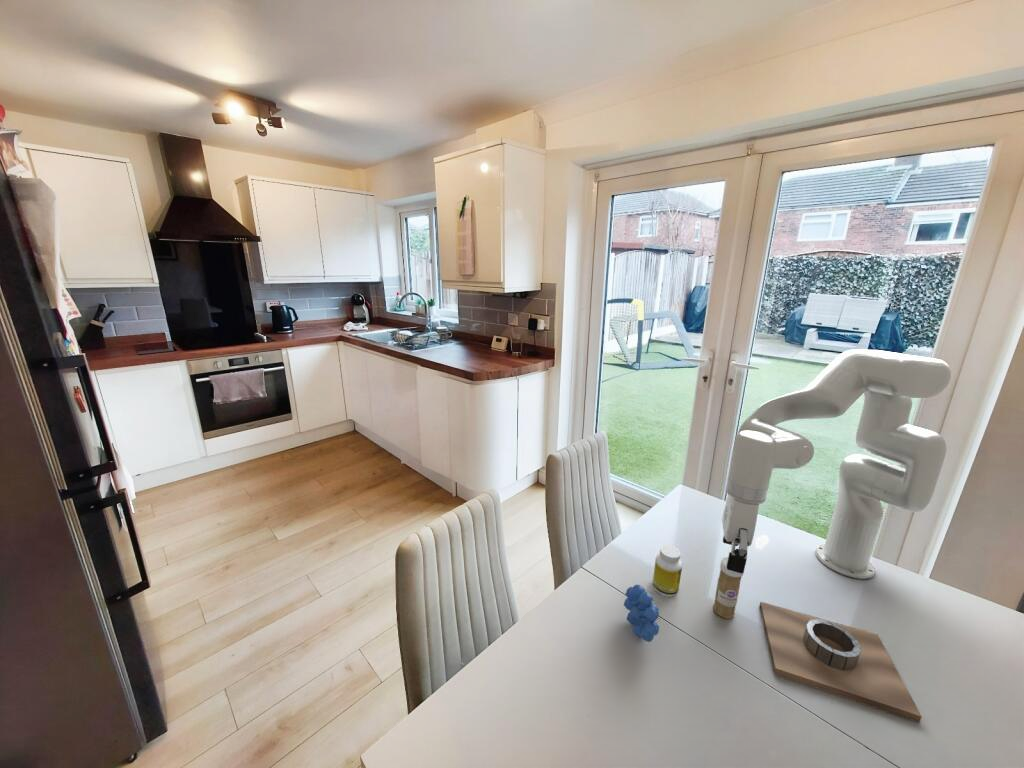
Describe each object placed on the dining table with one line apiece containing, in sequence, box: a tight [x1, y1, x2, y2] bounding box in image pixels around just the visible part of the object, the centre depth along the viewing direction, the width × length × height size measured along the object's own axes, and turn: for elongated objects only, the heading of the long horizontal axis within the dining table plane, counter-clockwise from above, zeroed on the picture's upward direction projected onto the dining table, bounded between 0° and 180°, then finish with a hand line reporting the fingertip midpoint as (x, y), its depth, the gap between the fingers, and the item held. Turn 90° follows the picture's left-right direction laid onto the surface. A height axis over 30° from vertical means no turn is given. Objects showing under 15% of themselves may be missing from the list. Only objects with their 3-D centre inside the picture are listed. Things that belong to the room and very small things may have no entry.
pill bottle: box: [652, 544, 683, 598], centre depth 98 cm, size 6×6×11 cm
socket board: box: [758, 601, 922, 723], centre depth 82 cm, size 18×22×2 cm
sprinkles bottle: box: [712, 556, 744, 619], centre depth 91 cm, size 5×5×14 cm
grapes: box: [623, 584, 660, 643], centre depth 85 cm, size 12×7×12 cm, turn 12°
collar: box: [803, 618, 861, 671], centre depth 81 cm, size 9×9×4 cm
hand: (732, 556), depth 88 cm, fingers open, 9 cm apart
